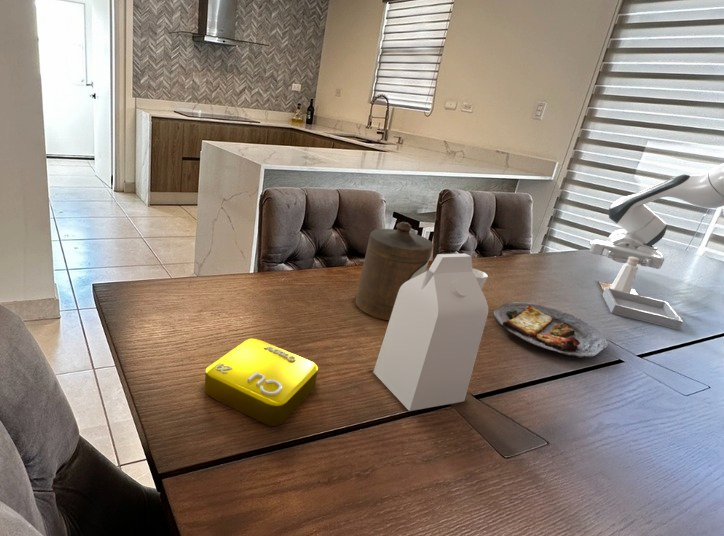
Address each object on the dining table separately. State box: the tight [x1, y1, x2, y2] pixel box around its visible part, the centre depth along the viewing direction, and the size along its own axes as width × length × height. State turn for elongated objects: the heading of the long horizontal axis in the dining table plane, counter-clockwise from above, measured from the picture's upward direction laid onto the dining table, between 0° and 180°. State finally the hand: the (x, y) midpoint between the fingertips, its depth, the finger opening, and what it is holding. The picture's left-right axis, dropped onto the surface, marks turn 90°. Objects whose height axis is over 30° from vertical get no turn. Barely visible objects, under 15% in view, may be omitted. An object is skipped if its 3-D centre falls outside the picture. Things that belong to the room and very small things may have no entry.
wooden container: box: [355, 221, 434, 321], centre depth 113 cm, size 15×15×22 cm
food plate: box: [492, 301, 610, 359], centre depth 113 cm, size 25×23×4 cm
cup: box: [472, 268, 489, 291], centre depth 127 cm, size 7×10×8 cm
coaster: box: [598, 281, 639, 295], centre depth 147 cm, size 10×10×1 cm
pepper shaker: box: [610, 257, 639, 293], centre depth 145 cm, size 5×5×11 cm
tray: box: [602, 288, 684, 331], centre depth 133 cm, size 16×15×3 cm
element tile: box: [204, 337, 319, 427], centre depth 80 cm, size 15×15×5 cm
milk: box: [372, 252, 489, 412], centre depth 82 cm, size 12×12×26 cm
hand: (627, 259), depth 151 cm, fingers open, 8 cm apart
